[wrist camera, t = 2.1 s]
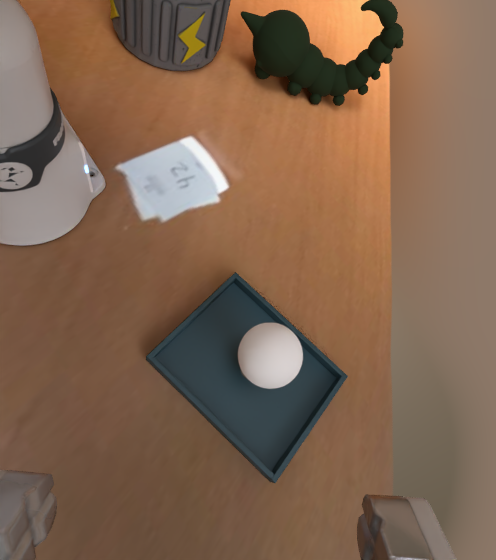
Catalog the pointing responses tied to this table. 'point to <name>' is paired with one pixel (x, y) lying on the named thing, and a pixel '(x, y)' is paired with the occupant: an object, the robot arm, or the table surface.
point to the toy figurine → (319, 53)
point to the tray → (237, 389)
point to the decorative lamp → (171, 30)
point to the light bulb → (270, 355)
